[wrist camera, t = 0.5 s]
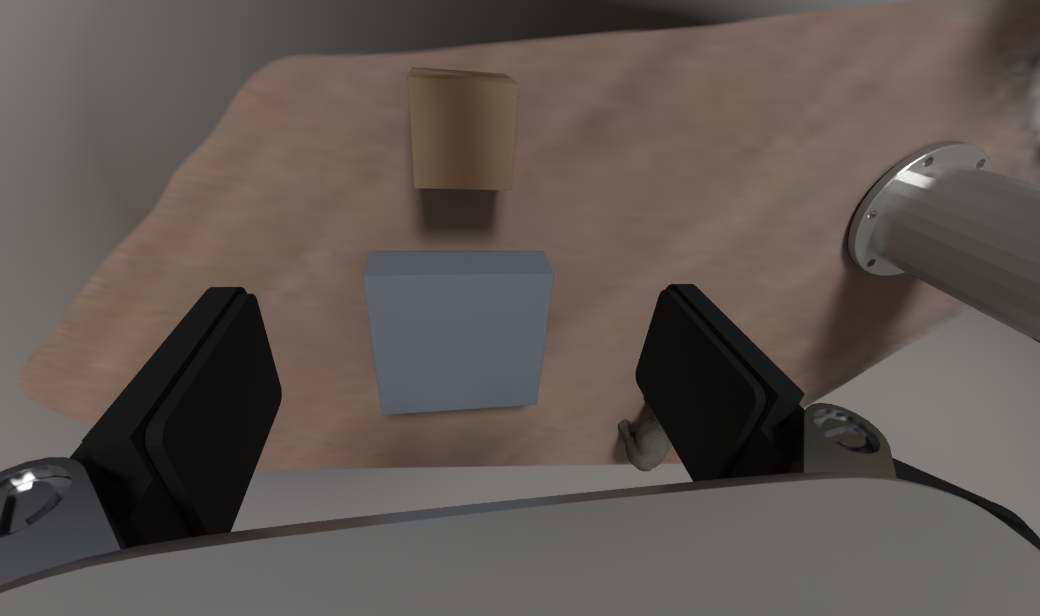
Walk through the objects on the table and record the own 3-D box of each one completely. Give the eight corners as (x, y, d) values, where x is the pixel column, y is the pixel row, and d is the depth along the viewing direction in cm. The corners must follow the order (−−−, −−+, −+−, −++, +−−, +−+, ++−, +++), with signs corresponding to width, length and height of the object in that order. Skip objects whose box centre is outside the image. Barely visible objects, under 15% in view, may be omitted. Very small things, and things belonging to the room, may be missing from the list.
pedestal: (543, 251, 37) (553, 273, 33) (529, 376, 44) (536, 404, 41) (370, 251, 34) (363, 275, 31) (386, 383, 42) (382, 415, 38)
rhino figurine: (704, 359, 47) (736, 399, 42) (633, 442, 53) (654, 485, 48) (677, 349, 46) (706, 389, 41) (606, 435, 52) (624, 479, 47)
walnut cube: (504, 73, 29) (518, 83, 24) (500, 164, 32) (511, 190, 27) (412, 67, 28) (407, 76, 23) (417, 162, 31) (414, 188, 26)
